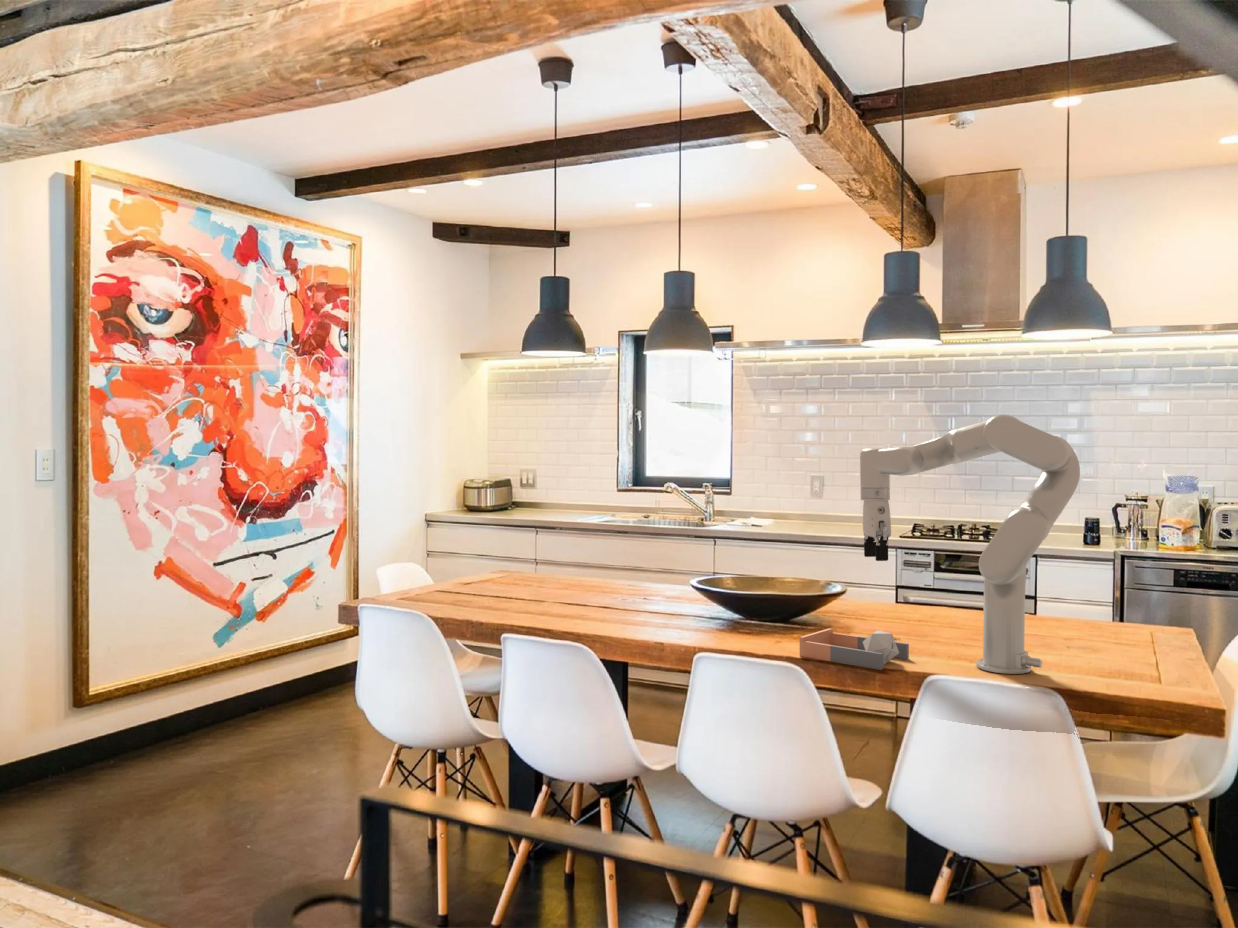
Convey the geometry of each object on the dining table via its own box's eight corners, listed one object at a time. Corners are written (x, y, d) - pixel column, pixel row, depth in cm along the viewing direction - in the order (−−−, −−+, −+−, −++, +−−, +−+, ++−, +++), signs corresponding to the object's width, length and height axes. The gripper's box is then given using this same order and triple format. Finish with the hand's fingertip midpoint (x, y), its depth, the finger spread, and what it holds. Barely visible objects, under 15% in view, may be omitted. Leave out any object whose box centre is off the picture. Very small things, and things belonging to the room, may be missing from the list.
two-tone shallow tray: (908, 659, 237) (908, 640, 237) (881, 670, 225) (881, 650, 225) (829, 646, 252) (829, 628, 252) (799, 655, 240) (799, 637, 240)
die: (865, 668, 230) (889, 640, 227) (850, 645, 237) (873, 618, 234) (888, 676, 233) (911, 649, 230) (872, 653, 241) (895, 627, 237)
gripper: (900, 495, 234) (901, 562, 234) (878, 493, 251) (879, 555, 251) (871, 496, 233) (872, 562, 234) (851, 493, 251) (852, 555, 251)
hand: (876, 558), depth 242 cm, fingers open, 9 cm apart
